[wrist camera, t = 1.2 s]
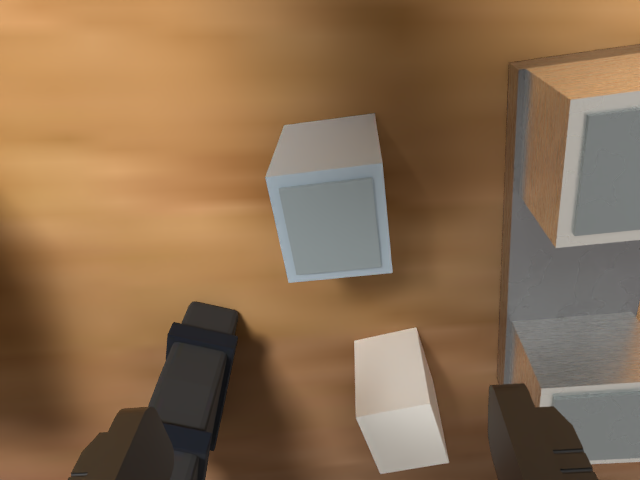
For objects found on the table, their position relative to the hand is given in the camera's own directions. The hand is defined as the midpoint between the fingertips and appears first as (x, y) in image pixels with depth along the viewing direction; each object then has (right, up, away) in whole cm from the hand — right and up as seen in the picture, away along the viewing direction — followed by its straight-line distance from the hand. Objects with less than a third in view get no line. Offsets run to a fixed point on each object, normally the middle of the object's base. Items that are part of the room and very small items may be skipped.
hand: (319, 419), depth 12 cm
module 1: (+1, +8, +14) cm, 16 cm away
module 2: (+5, -4, +20) cm, 21 cm away
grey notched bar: (+14, +4, +15) cm, 21 cm away
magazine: (-8, -5, +22) cm, 24 cm away
